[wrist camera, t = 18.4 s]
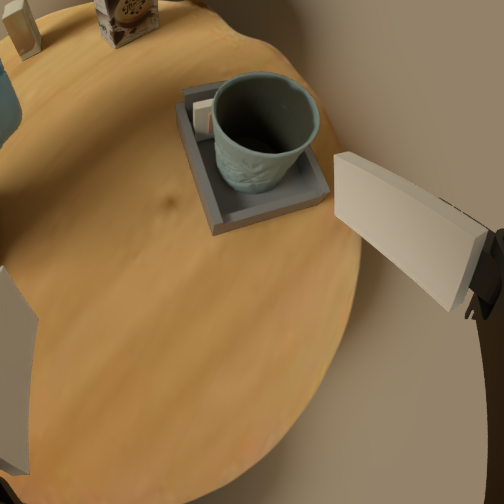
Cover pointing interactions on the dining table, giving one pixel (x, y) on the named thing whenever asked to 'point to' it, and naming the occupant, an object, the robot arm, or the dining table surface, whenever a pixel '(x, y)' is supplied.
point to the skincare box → (22, 28)
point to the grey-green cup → (261, 129)
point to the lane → (233, 202)
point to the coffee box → (126, 19)
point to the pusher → (203, 120)
